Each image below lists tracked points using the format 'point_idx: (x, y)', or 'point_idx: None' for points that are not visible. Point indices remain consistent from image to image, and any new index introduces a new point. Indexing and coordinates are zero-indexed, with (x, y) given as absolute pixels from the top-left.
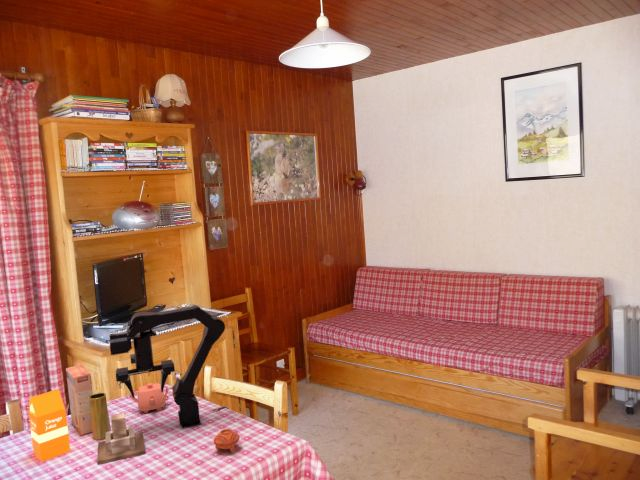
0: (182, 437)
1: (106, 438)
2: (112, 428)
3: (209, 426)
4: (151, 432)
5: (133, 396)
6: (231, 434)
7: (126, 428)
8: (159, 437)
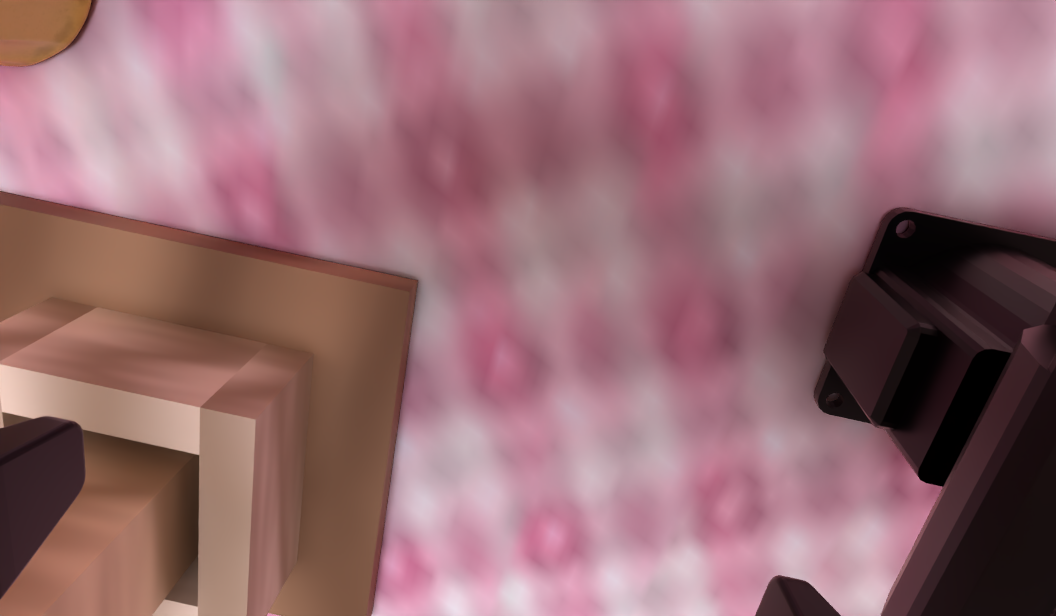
0: (720, 563)
1: None
2: None
3: None
4: (511, 264)
5: (38, 522)
6: None
7: (175, 422)
8: (547, 428)
